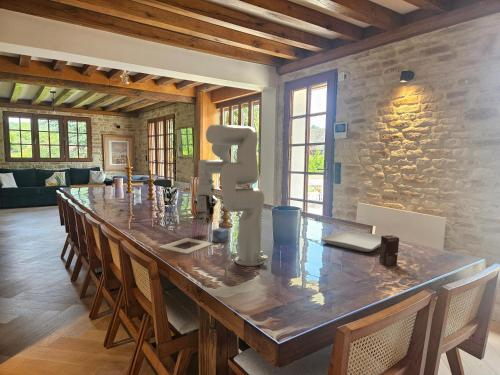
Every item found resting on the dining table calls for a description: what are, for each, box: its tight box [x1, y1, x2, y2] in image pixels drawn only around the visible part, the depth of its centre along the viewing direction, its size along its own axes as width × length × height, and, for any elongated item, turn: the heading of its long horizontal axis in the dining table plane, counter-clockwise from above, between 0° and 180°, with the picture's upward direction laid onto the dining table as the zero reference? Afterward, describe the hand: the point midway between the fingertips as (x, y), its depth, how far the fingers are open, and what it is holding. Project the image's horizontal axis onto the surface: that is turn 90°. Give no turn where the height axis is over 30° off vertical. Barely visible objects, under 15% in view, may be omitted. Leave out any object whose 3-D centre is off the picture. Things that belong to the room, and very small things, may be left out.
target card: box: [158, 237, 215, 255], centre depth 162 cm, size 18×20×1 cm
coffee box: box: [196, 195, 214, 226], centre depth 182 cm, size 9×6×16 cm
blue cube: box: [211, 227, 229, 244], centre depth 172 cm, size 6×6×6 cm
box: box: [378, 235, 400, 266], centre depth 139 cm, size 6×4×12 cm
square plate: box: [320, 230, 382, 253], centre depth 170 cm, size 27×27×4 cm
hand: (205, 213), depth 183 cm, fingers closed on coffee box, 7 cm apart
